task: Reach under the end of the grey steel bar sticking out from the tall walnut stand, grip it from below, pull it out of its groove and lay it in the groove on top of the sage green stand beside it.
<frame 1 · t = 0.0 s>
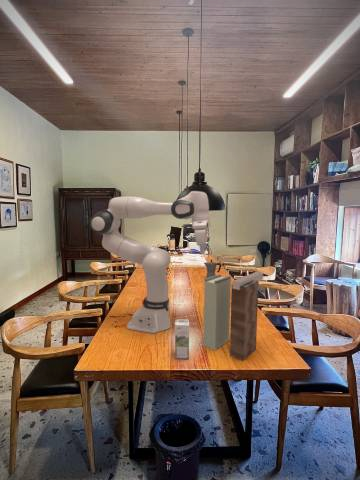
hand: (203, 252, 135), 39 cm above the table, tool pointing down, fingers open, 8 cm apart
sage stand: (216, 343, 124), on the table
coffeepot: (212, 280, 237), on the table
walnut stand: (243, 352, 116), on the table
steel bar: (248, 283, 115), point 29 cm above the table, touching walnut stand
syrup box: (181, 356, 113), on the table
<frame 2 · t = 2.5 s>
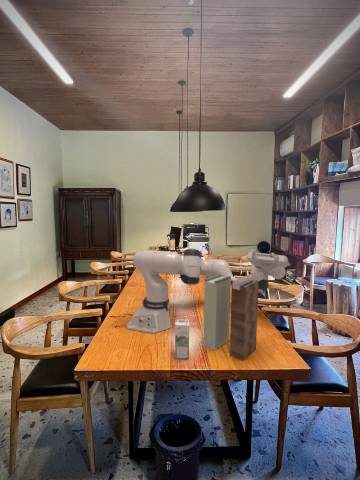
hand: (262, 253, 136), 39 cm above the table, tool pointing upward, fingers open, 8 cm apart
nothing on the table moved.
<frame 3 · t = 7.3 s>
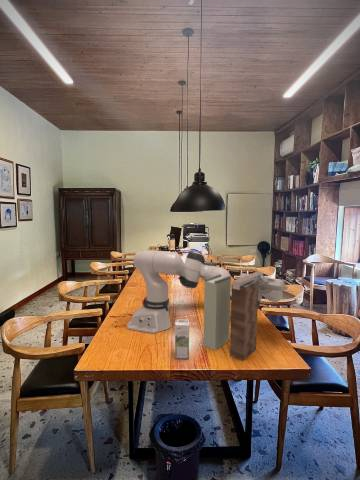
hand: (255, 276, 120), 31 cm above the table, tool pointing upward, fingers closed on steel bar, 3 cm apart
steel bar: (248, 283, 115), point 29 cm above the table, touching gripper, walnut stand
everything else where it was.
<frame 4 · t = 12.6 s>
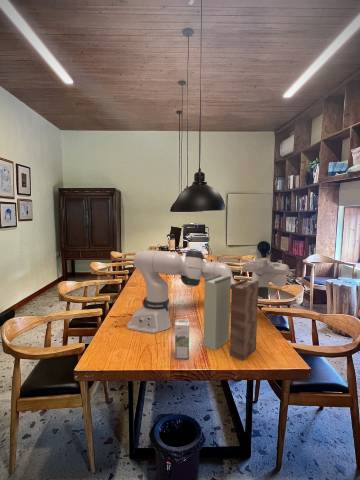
hand: (262, 261, 134), 35 cm above the table, tool pointing upward, fingers closed on steel bar, 3 cm apart
steel bar: (256, 267, 129), point 33 cm above the table, touching gripper
everything else where it was.
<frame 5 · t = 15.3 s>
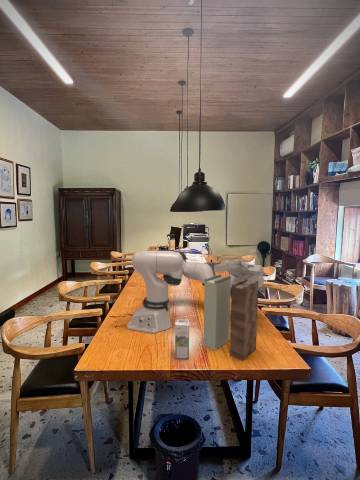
hand: (236, 262, 132), 35 cm above the table, tool pointing upward, fingers closed on steel bar, 3 cm apart
steel bar: (229, 268, 127), point 33 cm above the table, touching gripper
everything else where it was.
when the fingers open (32 cm above the table, at t = 17.7 s): steel bar stays where it is, resting on sage stand.
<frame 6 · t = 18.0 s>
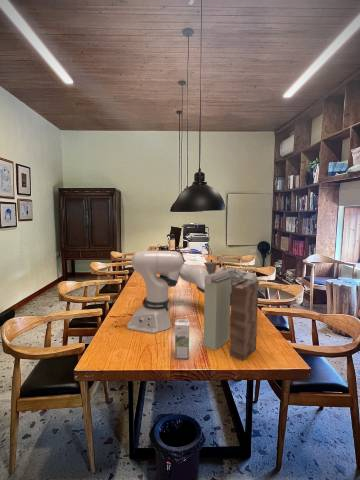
hand: (229, 269, 128), 32 cm above the table, tool pointing upward, fingers open, 5 cm apart
steel bar: (221, 278, 124), point 29 cm above the table, touching sage stand
everything else where it was.
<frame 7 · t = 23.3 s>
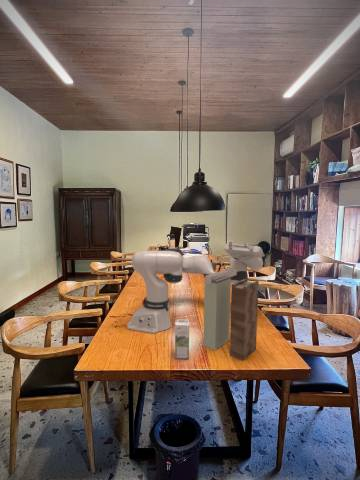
hand: (237, 244, 141), 42 cm above the table, tool pointing upward, fingers open, 8 cm apart
nothing on the table moved.
at the end: steel bar inside the target area on the sage stand (0.1 cm from its centre), point 29.0 cm above the sage stand's base; steel bar tilted 0°; the gripper is holding nothing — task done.
